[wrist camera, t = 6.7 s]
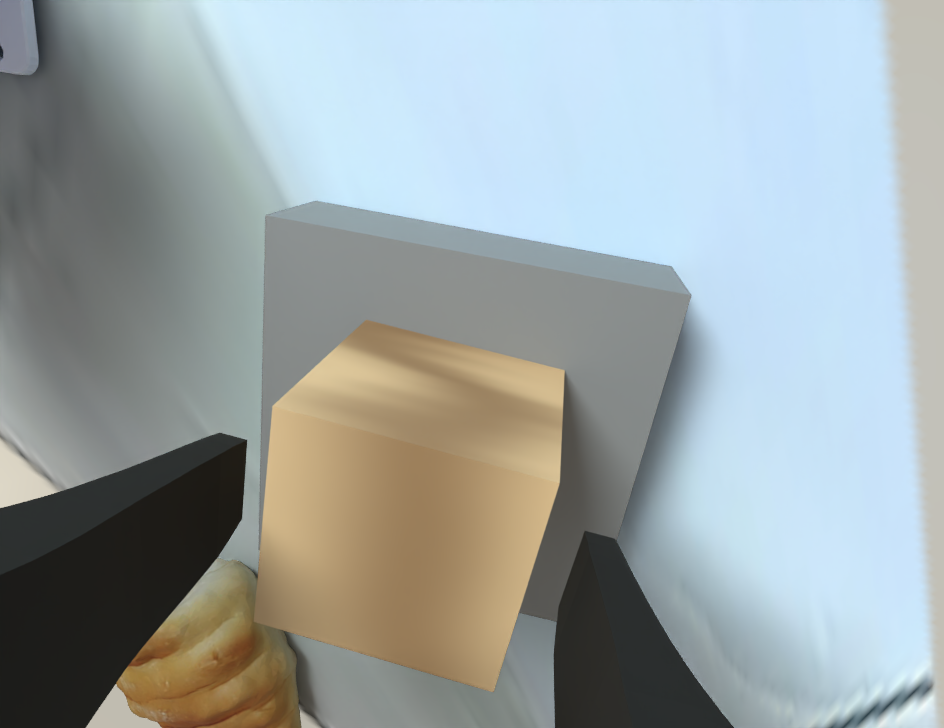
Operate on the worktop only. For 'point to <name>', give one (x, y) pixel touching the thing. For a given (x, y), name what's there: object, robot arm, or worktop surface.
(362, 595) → the oak block
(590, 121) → the worktop surface
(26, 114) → the worktop surface
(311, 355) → the gray block
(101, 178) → the worktop surface
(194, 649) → the pastry
